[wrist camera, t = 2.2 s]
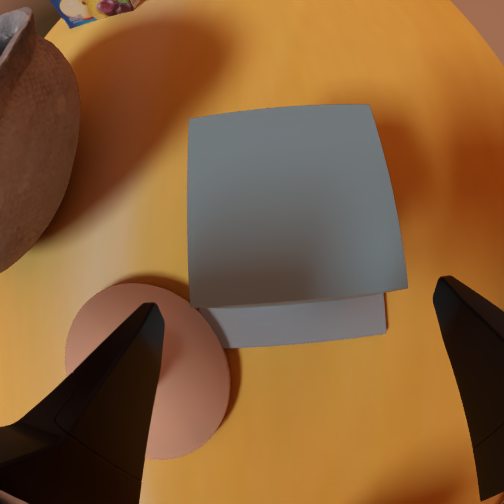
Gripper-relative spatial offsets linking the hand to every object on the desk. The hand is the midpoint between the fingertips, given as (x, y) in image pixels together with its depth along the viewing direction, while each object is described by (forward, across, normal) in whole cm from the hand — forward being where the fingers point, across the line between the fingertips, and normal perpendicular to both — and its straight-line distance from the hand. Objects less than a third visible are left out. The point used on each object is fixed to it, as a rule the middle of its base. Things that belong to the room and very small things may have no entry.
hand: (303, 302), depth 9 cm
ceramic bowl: (+16, +24, -1) cm, 29 cm away
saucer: (+4, +11, +11) cm, 16 cm away
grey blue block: (+10, 0, +5) cm, 11 cm away
